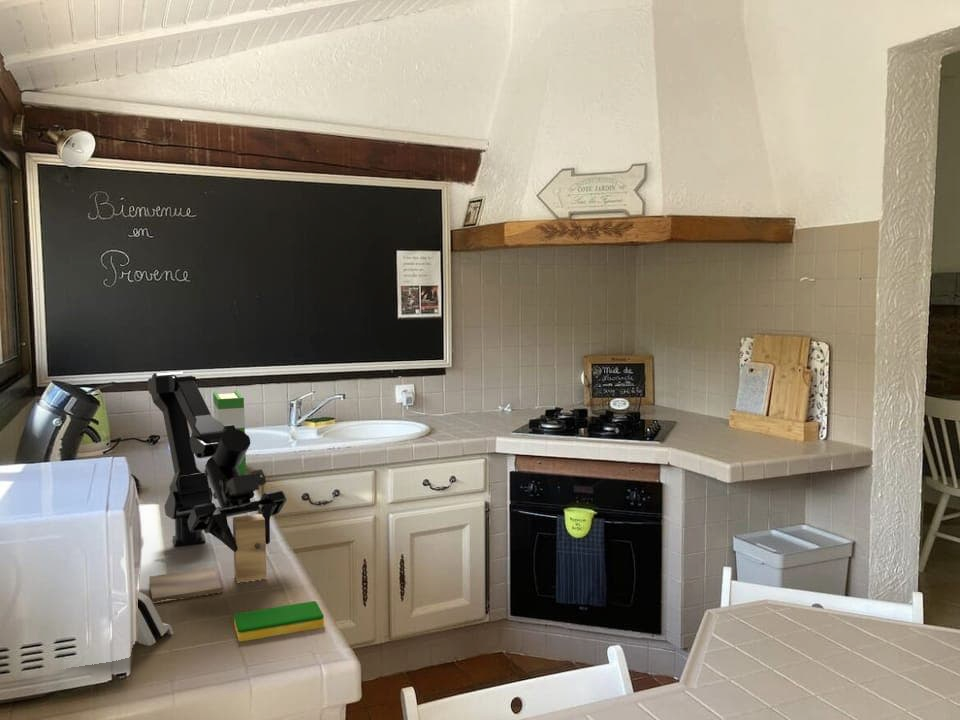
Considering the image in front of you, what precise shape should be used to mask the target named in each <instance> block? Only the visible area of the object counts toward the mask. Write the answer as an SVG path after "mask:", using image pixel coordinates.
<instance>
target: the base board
mask: <svg viewBox="0 0 960 720" xmlns="http://www.w3.org/2000/svg"><path fill="white" fill-rule="evenodd" d="M217 573H218V572H217V570H216V567H208V568H207V567H206V568H199V569H193V570H186V571H178V572H172V573H164V574H159V575H152V576H151V575H150V576H149V583H150V584H149V586H150V585H151V587H150V595H151V594H152V595H151V601H152V602H157V601H161V600H166V599H180V598H187V599H190V598H189V597H193V598H196V597H195V596H199V597H202V596H201V595H206V594H212V595H214V594H213V593H218V594H220V593H219V592H222V593H223V587H222V585H221V581H220V578H219V577H218V574H217ZM206 596H207V595H206ZM180 600H181V599H180Z"/></svg>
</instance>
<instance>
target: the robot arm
mask: <svg viewBox="0 0 960 720" xmlns="http://www.w3.org/2000/svg"><path fill="white" fill-rule="evenodd" d="M147 391H148V393H149V394H150V395H151V396H150V397H151V399H152V402H153V404H154V405H155V406H156V407H157V409H159V410H160V411H161V412H162V414H163V419H164V425H165V430H166V436H167V441H168V445H169V449H170V450H169V451H170V457H171V460H172V467H173V471H174V475H173V476H172V477H173V478H172V480H171V482H170V485H169V494H168V497H167V499H166V501H165V503H164V512H165V516H166V517H168V518H170V519H171V520H174V533H175V535H173V536H172V541H173V545H174V546H175V547H178V546H179V547H180V546H186V545H194V544H203V543H206V540H207V539H206V537H205V534H211V535H212V536H213V537H215V538H216V539H218V540H219V541H221V542H222V543H223V544H224V545H226V547H228V548H229V549H230V550H231V551H232V552H233V553H234V552H236V551H237V550H238V548H237V545H236V542H235V539H234V537H233V531H232V530H231V527H230V526H229V522H228V517H234V516H238V515H243V514H247V513H253V512H254V513H255V515H257V514H262V516H263V517H264V519H265V539H266V545H270V543H271V527H270V526H271V525H270V524H271V521H270V520H271V517H272V516H277V515H278V514H280V513H281V510H282V509H283V508H284V505H285V503H287V500H288V499H287V497H286V494H285V493H284V491H283V490H280V489H277V490H272V491H267V492H264V493H263V494H262V496H261V497H260V499H259V500H254V501H251V499H253V498H254V497H255V492H256V491H259V490H260V487H262V486H264V485H266V484H267V480H266V475H265V473H264V471H263V469H255V470H253V471H251V472H250V473H249V474H248V473H247V474H246V475H241V476H240V474H239V471H238V469H237V466H238V465H240V463H241V462H242V460H243V458H244V456H245V454H247V452H248V449H249V447H250V445H251V438H250V436H249V434H247V433H246V432H245V433H244V432H243V431H241V430H238V429H235V426H234V425H229V426H224V425H223V423H222V422H220V421H218V420H216V419H214V416H213V415H212V413H211V411H210V410H209V407H208V405H207V403H206V401H205V399H204V397H203V395H202V393H201V391H200V389H199V387H198V385H197V379H196V376H195V375H194V374H191V373H183V371H179V370H178V371H168V372H167V371H166V372H154V373H153V374H152V376H151V378H148V380H147ZM189 427H190V428H189ZM190 430H191V433H190ZM195 457H196V458H197V459H206V458H209V459H207V460H206V463H205V466H204V468H205V469H204V471H203V472H202V471H201V470H200V469H199V468H198V467H197V462H196V458H195ZM208 477H209V479H208ZM209 480H210V483H211V485H212V488H213V491H214V492H213V491H212V488H211V487H210V484H209ZM213 499H214V500H217V501H218V504H219V506H216V504H215V503H214V502H212V501H213Z"/></svg>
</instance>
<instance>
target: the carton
mask: <svg viewBox="0 0 960 720" xmlns="http://www.w3.org/2000/svg"><path fill="white" fill-rule="evenodd" d="M212 397H213V398H212V399H213V418H214V419H216V420H218V421H220V422H222V423H223V425H224V426H229V425H234V426H235V429H238V430H241V431H243V432H244V433H246V427H245V398H244V396H243V395H242V394H241V393H240V392H239V391H238V390H234V393H233V392H232V393H218V392H217V391H213V392H212ZM246 454H247V453H246ZM246 454H245V456H244V458H243V460H242V462H241V463H240V465H238V466H237V469H238V471H239V474H240V476H241V475H247V463H246V462H247V461H246V460H247V459H246V457H247V456H246Z"/></svg>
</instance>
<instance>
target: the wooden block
mask: <svg viewBox="0 0 960 720" xmlns="http://www.w3.org/2000/svg"><path fill="white" fill-rule="evenodd" d="M232 535H233V537H234V539H235V542H236V545H237V548H238V550H237V551H236V552H234V551H233V563H234V564H233V566H234V567H233V568H234V569H233V570H234V579H235V578H236V579H235V582H236V581H237V582H236V584H237V583H240V582H246V583H248V582H247V581H252V580H259V579H265V578H267V549H266V547H267V544H266V539H265V519H264V517H263V516H262V514H257V515H256V514H251V515H240V516H235V517H234V516H232ZM267 579H268V578H267ZM259 581H260V580H259ZM240 584H241V583H240Z"/></svg>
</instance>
